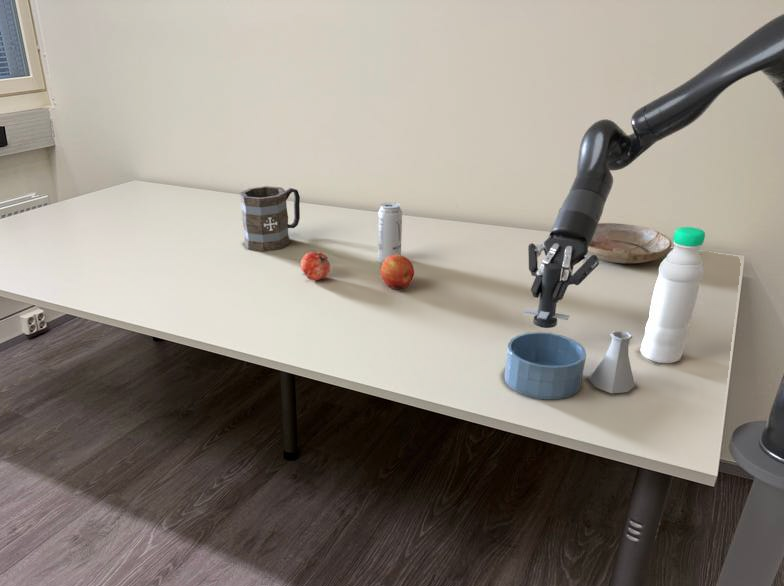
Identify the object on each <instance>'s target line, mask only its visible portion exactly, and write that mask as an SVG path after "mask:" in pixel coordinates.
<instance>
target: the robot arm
mask: <svg viewBox="0 0 784 586" xmlns="http://www.w3.org/2000/svg"><path fill="white" fill-rule="evenodd" d="M760 71H761V72H762V73H763V74H764V75H765V76H766V77H767V79H768V80H769V81H770V82H771V83H772V84H773V85H774V86H775V87H776V89H777V90H778V92H779V94H780V95H781V96H782V99H783V100H784V13H782V14H780V15H778V16H776V17H775V18H772V19H771V20H770V21H767V22H766V23H765V24H764V25H762V26H761V27H759V28H758V29H756V30H754V32H752V33H751V34H750V35H748V36H747V37H745V38H744V39H742V40H741V41H740V42H739V43H737V44H736V45H735V46H734V47H732V48H731V49H729V50H728V51H726V52H725V53H724V54H722V55H721V56H720V57H718V58H717V59H716V60H715V61H713V62H712V63H710V64H709V65H707V66H706V67H705V68H704V69H702V70H701V71H700V72H698V73H697V74H695V75H694V76H693V77H691V78H690V79H688V80H686V81H685V82H684V83H682V84H680V85H679V86H677V87H675V88H674V89H672V90H670V91H669V92H667V93H665V94H663V95H661V96H659V97H657V98H656V99H654V100H652V101H651V102H648V103H647V104H645V105H643V106H642V107H640V108H638V109H637V110H636V111H634V112H633V114H632V116H631V119H630V120H631V121H630V123H631V128H632V131H633V133H630V134H628V133H627V132H625V131H624V130H623V129H622V128H621V127H620V126H619V125H618V124H617V123H616V122H615V121H613V120H611V119H607V118H606V119H604V118H603V119H600V120H597V121H595V122H594V123H593V124H591V125H590V126H589V127H588V129H587V130H586V131H585V132H584V134H583V136H582V138H581V142H580V144H579V151H578V158H577V165H576V173H575V174H576V175H575V178H574V179H573V182H572V185H571V187H570V189H569V191H568V193H567V196H566V197H565V199H564V200H563V202H562V204H561V207H559V210H558V214H557V215H556V219H555V220H554V223H553V226H552V228H551V230H550V233H549V235H548V237H547V239H545V240H544V242H543V243H541V244H535V243H532V242H531V243H529V244H528V247H527V248H528V270H529V272H530V274H531V276H533V277H534V280H533V283H532V285H531V288H530V292H531V294H532V296H533V298H536V299H538V298H540V292H541V284H542V277H543V269H544V265H545V264H547V263H556V264H560V265H561V266H562V270H561V277H560V281H559V282H558V284H557V286H556V289H555V291H554V293H553V296H552V300H553V302H557V303H558V302H559V301H562V300H563V299H564V297H565V294H566V291H567V289H568V287H569V286H571V285H575V286H578V285H580V284H581V283H582V282H583V281H584V280H585V279H587V277H588V276H589V275H590V274H591V273H592V272H593V271H594V270H595V269H596V268H597V267H598V266H599V265H600V262H599V259H598V258H597V256H596V255H591V254H589V253H588V246H589V244H590V242H591V239H592V237H593V235H594V232H595V230H596V228H597V225H598V223H600V220H601V218H602V216H603V212H604V208H605V204H606V202H607V200H608V198H609V195H610V194H611V191H612V188H613V185H614V176H613V174H612V172H611V171H613V172H614V171H619V170H622V169H625V168H626V167H628V166H629V165H631V164H632V163H633V162H634V161H635V160H637V159H638V158H639V157H640V156H641V155H642V154H644V153H645V152H646V151H647V150H649V149H650V148H651V147H652V146H653V145H655V144H656V143H657V142H659V141H661V140H663V139H665V138H668V137H669V136H671V135H673V134H675V133H677V132H679V131H681V130H683V129H685V128H686V127H688V126H691V124H693V123H695V122H696V121H697V120H698V119H699V118H700V117H701V116H702V115H703V114H705V112H706V111H707V110H708V109H709V108H710V106H711V105H712V104H713V103H714V102H715V101H716V100H717V99H718V98H719V96H721V94H722V93H723V92H724V91H726V90H727V89H728V88H729V87H731V86H733V84H735V83H737V82H738V81H740V80H742V79H744V78H746V77H749V76H751V75H753V74H756V73H758V72H760ZM542 252H544V255H545V257H544V258H543V259H542V261H541V264H540V266H538V264H539V263H538V257H540V256H541V255H542ZM581 261H583V264H582V265H581V266H580V267H579V268H578V269H577V270H576V271H575V272H574V266H576V265H577V264H578V263H580V262H581ZM573 272H574V273H573ZM766 421H767V423H766V426H765V428H764V430H763V434H762V435H761V438H760V440H759V445H760V447H761V449H762V450H763V451H764V453H766V454H767V455H768V456H769V457H771V458H772V459H774V460H776V461H778V462H780V463H782V464H784V374H783V375H782V378H781V381H780V384H779V386H778V388H777V392H776V395H775V398H774V400H773V403H772V406H771V408H770V412H769V414H768V417H767V420H766Z"/></svg>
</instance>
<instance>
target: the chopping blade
mask: <svg viewBox="0 0 784 586" xmlns="http://www.w3.org/2000/svg"><path fill="white" fill-rule="evenodd" d="M561 275H562V266H561V265H560V264H556V263H547V264H545V265H544V269H543V277H542V284H541V292H540V295H539V299H538V307H537V309H533V308H527V307H524V310H523V314H524V313H525V314H530V315H534V316H533V319H532V320H533V321H532V323H533V324H534V325H535V326H536V327H539V328H542V329H543V328H544V329H551V328H555V327H556V326H557V325H558V320H565V321H569V319H570V315H569V314H562V313H556V311H557V303H558V302H553V300H552V296H553V293H554V291H555V289H556V286H557V284H558V282H559V281H561Z"/></svg>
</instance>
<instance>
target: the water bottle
mask: <svg viewBox="0 0 784 586" xmlns="http://www.w3.org/2000/svg"><path fill="white" fill-rule="evenodd" d="M705 238H706V232H705V231H704V230H702V229H701V228H697V227H693V226H682V227H678V228H676V229H675V231H674V234H673V237H672V244H673V248H672V250H671V249H670V250H669V251H668V253H667V254H666V257H664V259H663V260H662V261H661V262H660V264H659V266H658V276H657V279H656V282H655V285H654V289H653V292H652V293H653V294H652V297H651V303H650V307H649V314H648V315H649V316H648V319H647V321H646V324H645V328H644V330H645V331H644V336H643V338H642V342H641V346H640V353H641V355H642V356H643V357H644V358H645V359H647V360H649V361H652V362H654V363H659V364H672V363H676V362H678V361H680V360H681V359H682V356H683V352H684V347H685V341H686V339H687V336H688V333H689V324H690V321H691V319H692V315H693V313H694V309H695V305H696V303H697V298H698V294H699V290H700V284H701V283H700V282H701V280H702V278H703V275H704V271H705V270H704V266H703V265H704V264H703V262H702V257H701V254H700V253H699V252H700V251H699V249H700V248H701V247H702V246H703V244H704V242H705Z"/></svg>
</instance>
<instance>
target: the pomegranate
mask: <svg viewBox="0 0 784 586" xmlns="http://www.w3.org/2000/svg"><path fill="white" fill-rule="evenodd" d="M300 270H301V272H303V274H304V275H305V277H306V278H307V279H308V280H311V281H319V280H322V279H324V278H327V276H328V275H329V274H330V272H331V263H330V261H329V259H328V256H326V253H324V252H318V251H313V250H311V251H309V252H307V253H306V254H304V255H303V257H302V259H301V261H300Z"/></svg>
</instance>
